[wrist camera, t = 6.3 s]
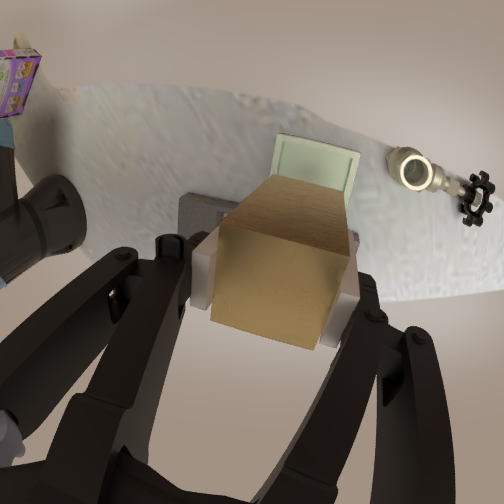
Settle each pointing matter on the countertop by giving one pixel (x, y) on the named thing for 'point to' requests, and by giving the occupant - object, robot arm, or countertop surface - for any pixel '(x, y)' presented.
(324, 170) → the tray
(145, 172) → the countertop surface
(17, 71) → the candy box
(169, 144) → the countertop surface
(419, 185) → the valve
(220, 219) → the grey slotted holder
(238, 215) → the wooden block
